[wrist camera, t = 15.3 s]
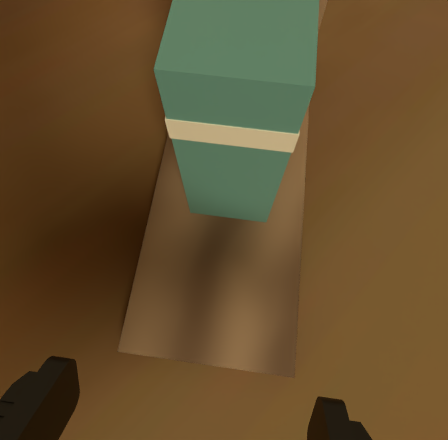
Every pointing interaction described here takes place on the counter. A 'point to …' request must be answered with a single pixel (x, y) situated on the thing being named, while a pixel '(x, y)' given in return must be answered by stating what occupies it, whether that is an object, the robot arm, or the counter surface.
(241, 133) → the teal book
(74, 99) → the counter surface
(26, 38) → the counter surface
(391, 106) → the counter surface
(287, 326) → the book rack
